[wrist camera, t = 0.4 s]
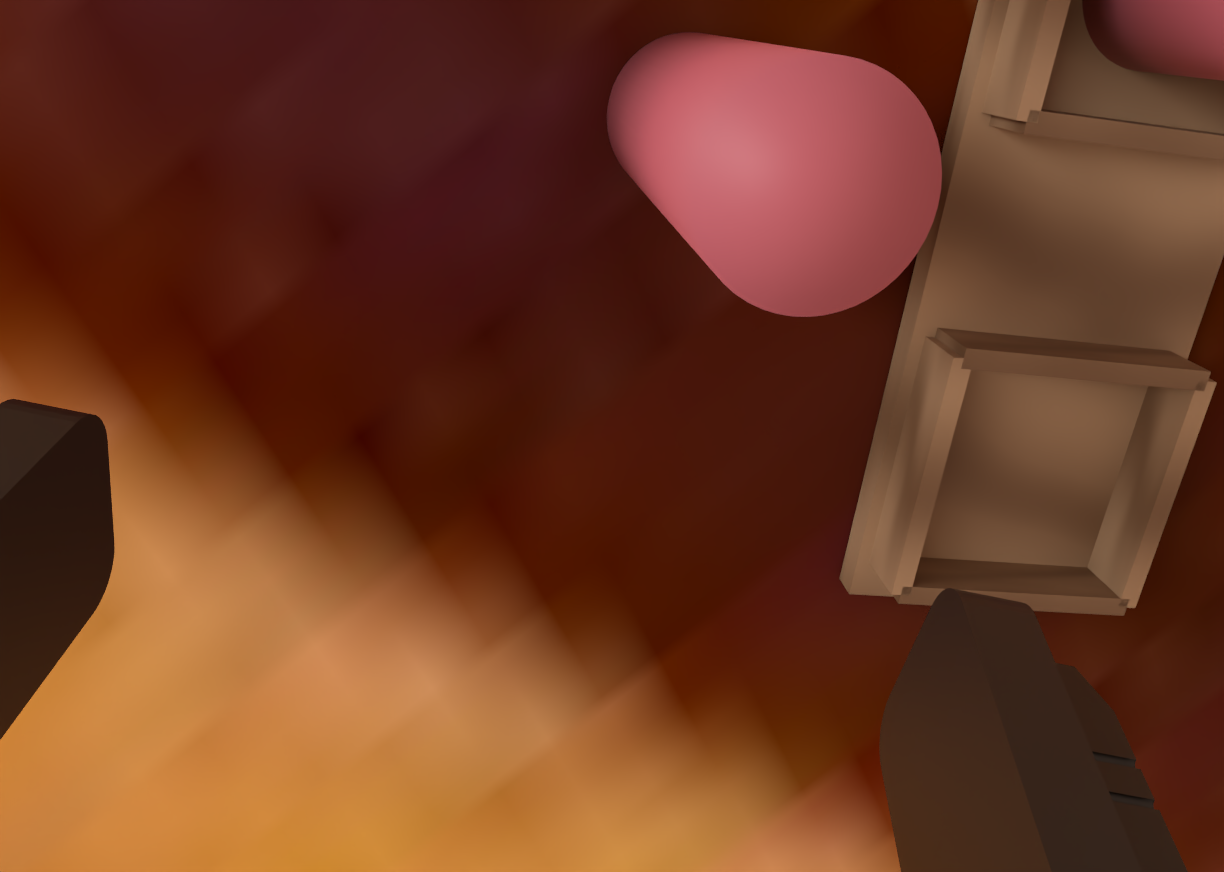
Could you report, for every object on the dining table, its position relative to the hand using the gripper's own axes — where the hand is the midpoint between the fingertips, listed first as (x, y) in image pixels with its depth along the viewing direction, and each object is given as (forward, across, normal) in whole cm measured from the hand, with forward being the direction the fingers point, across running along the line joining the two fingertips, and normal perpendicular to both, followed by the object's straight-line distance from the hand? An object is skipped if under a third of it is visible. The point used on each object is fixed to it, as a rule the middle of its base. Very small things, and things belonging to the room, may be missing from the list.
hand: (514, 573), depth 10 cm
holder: (+23, -14, +2) cm, 27 cm away
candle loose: (+21, -2, +1) cm, 21 cm away
